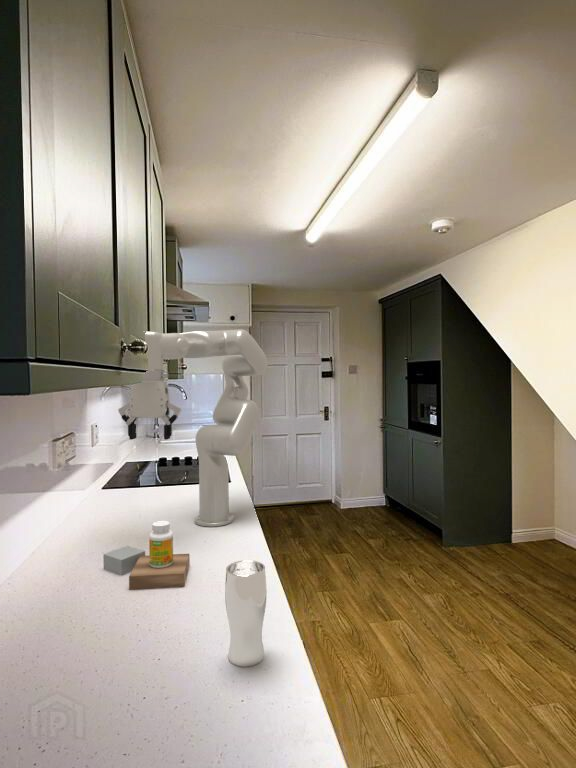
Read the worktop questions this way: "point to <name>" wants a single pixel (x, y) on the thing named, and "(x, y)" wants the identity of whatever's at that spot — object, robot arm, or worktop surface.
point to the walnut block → (159, 573)
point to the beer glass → (245, 611)
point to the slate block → (122, 560)
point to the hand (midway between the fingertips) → (150, 438)
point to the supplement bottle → (161, 545)
